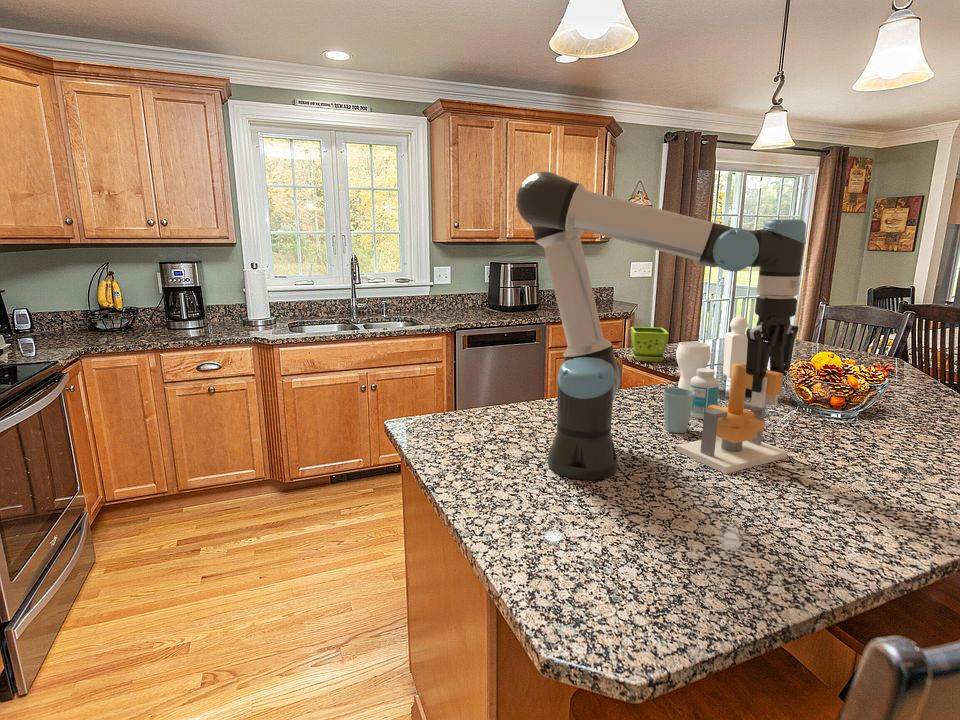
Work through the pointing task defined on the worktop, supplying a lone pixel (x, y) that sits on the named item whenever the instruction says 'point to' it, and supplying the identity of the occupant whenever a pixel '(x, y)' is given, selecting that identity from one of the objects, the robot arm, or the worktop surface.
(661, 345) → the flower pot
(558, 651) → the worktop surface
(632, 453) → the worktop surface
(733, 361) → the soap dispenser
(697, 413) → the pill bottle
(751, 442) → the base
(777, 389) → the lever handle
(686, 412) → the cup
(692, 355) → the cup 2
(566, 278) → the robot arm
